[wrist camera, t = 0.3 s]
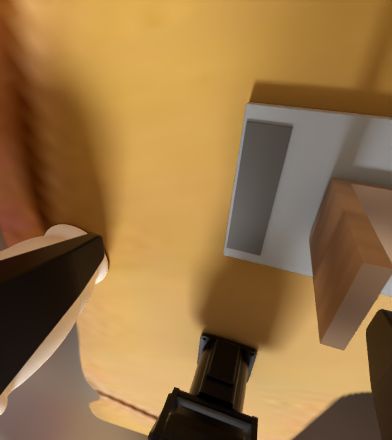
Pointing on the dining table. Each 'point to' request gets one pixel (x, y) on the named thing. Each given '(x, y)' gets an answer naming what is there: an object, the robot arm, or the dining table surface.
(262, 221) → the bridge deck
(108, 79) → the dining table surface
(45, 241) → the jar
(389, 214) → the wooden block
